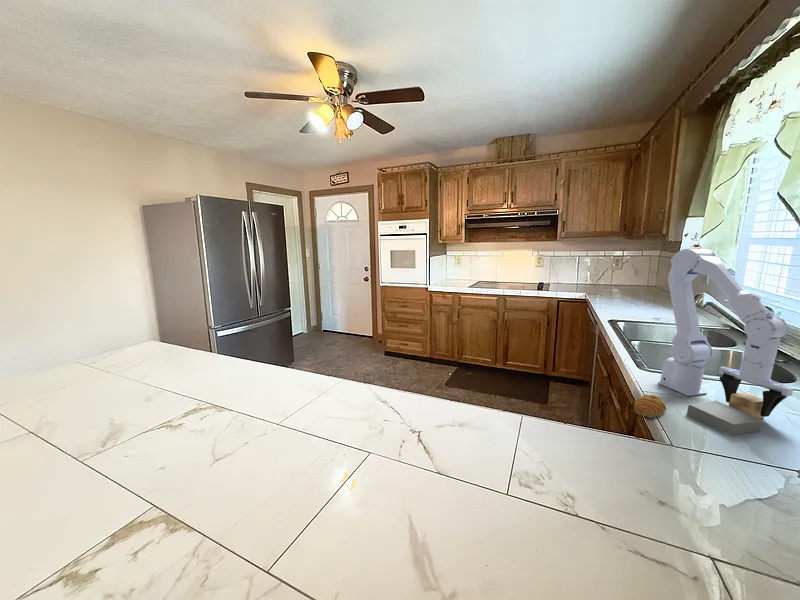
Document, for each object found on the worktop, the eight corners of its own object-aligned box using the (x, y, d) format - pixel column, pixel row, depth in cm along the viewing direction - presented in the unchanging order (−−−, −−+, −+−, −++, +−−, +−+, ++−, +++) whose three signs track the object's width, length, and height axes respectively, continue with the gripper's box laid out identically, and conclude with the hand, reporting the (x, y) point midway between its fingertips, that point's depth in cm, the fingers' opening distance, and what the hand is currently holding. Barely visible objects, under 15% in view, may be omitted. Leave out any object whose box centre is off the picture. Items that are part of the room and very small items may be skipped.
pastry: (657, 423, 85) (660, 409, 84) (627, 412, 90) (629, 399, 89) (666, 412, 91) (669, 399, 90) (637, 402, 96) (639, 390, 95)
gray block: (686, 414, 89) (688, 404, 89) (713, 410, 92) (715, 400, 91) (731, 435, 80) (733, 424, 79) (759, 431, 82) (762, 420, 82)
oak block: (727, 410, 92) (731, 393, 91) (740, 408, 94) (744, 392, 93) (749, 420, 88) (754, 402, 87) (763, 417, 89) (767, 400, 88)
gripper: (806, 370, 82) (793, 421, 84) (735, 351, 96) (725, 395, 98) (787, 373, 80) (773, 424, 83) (717, 352, 94) (708, 397, 96)
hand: (746, 408), depth 90 cm, fingers open, 7 cm apart
